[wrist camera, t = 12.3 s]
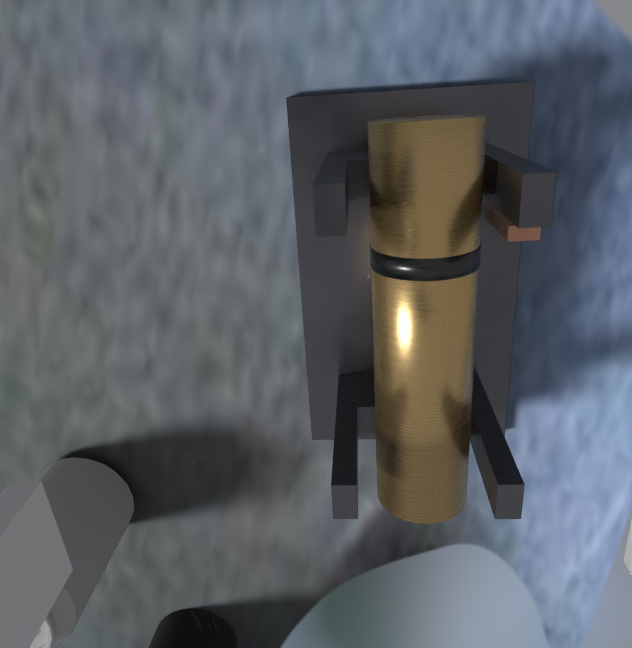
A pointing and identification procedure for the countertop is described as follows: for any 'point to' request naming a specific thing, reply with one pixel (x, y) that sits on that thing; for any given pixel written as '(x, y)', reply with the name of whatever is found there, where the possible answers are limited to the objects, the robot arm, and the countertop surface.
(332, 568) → the countertop surface
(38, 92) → the countertop surface
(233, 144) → the countertop surface
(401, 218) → the tube
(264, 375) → the countertop surface
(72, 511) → the can
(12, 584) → the robot arm
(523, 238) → the dark grey pronged rack
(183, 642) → the travel mug
